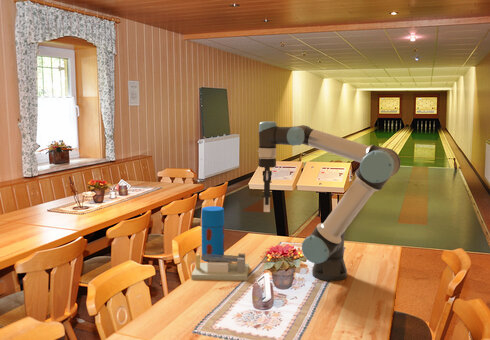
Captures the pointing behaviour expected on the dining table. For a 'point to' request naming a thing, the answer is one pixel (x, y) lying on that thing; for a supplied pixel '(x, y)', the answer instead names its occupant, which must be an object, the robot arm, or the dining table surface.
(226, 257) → the clamp lever
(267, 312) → the dining table surface
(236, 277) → the clamp board
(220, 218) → the thermos
